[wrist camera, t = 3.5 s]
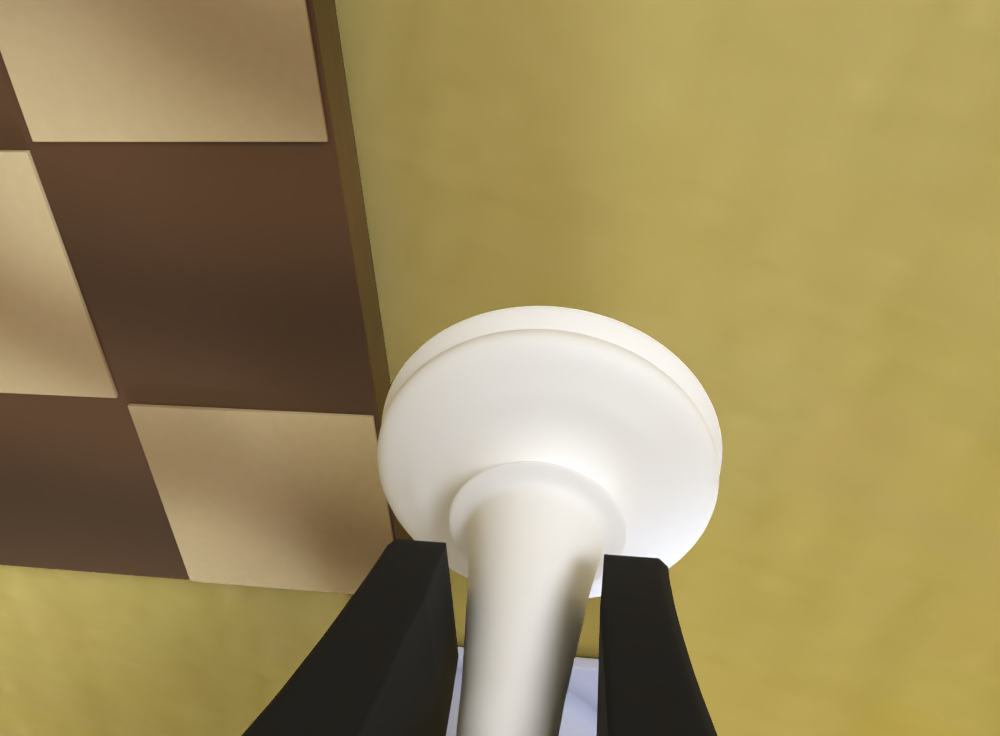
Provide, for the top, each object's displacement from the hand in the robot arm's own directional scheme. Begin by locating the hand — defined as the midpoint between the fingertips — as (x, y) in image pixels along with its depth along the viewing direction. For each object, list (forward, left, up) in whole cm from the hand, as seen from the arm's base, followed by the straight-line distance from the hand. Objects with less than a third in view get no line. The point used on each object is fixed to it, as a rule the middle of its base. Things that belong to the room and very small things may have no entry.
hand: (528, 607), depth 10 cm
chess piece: (0, 0, -3) cm, 3 cm away
